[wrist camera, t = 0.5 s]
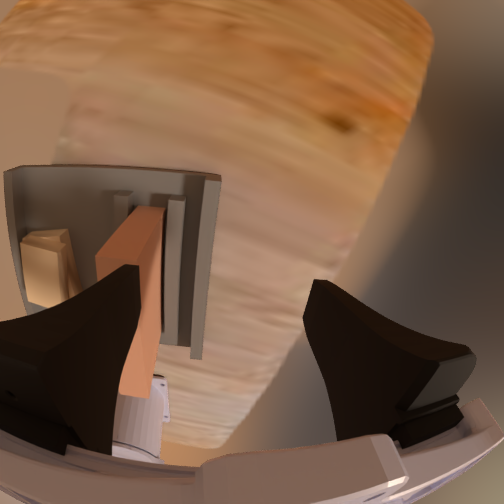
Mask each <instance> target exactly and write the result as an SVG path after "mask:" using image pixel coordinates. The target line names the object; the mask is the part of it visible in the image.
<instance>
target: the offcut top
mask: <svg viewBox="0 0 504 504" xmlns="http://www.w3.org/2000/svg"><path fill="white" fill-rule="evenodd" d="M20 247H21V258H22V266H23V274H24V281H25V287H26V293H27V298H28V301H29V302H32V303H35V304H37V305H40V306H44V307H47V308H50V307H52V306H55V305H57V304H60V303H62V302H64V301H66V300H68V299H69V288H68V274H67V247H66V244H65V243H61V242H56V241H52V240H48V239H44V238H40V237H36V236H32V235H30V236H28V237H27V238H26V239H24V240H23V241H22V242H21V243H20Z"/></svg>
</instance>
